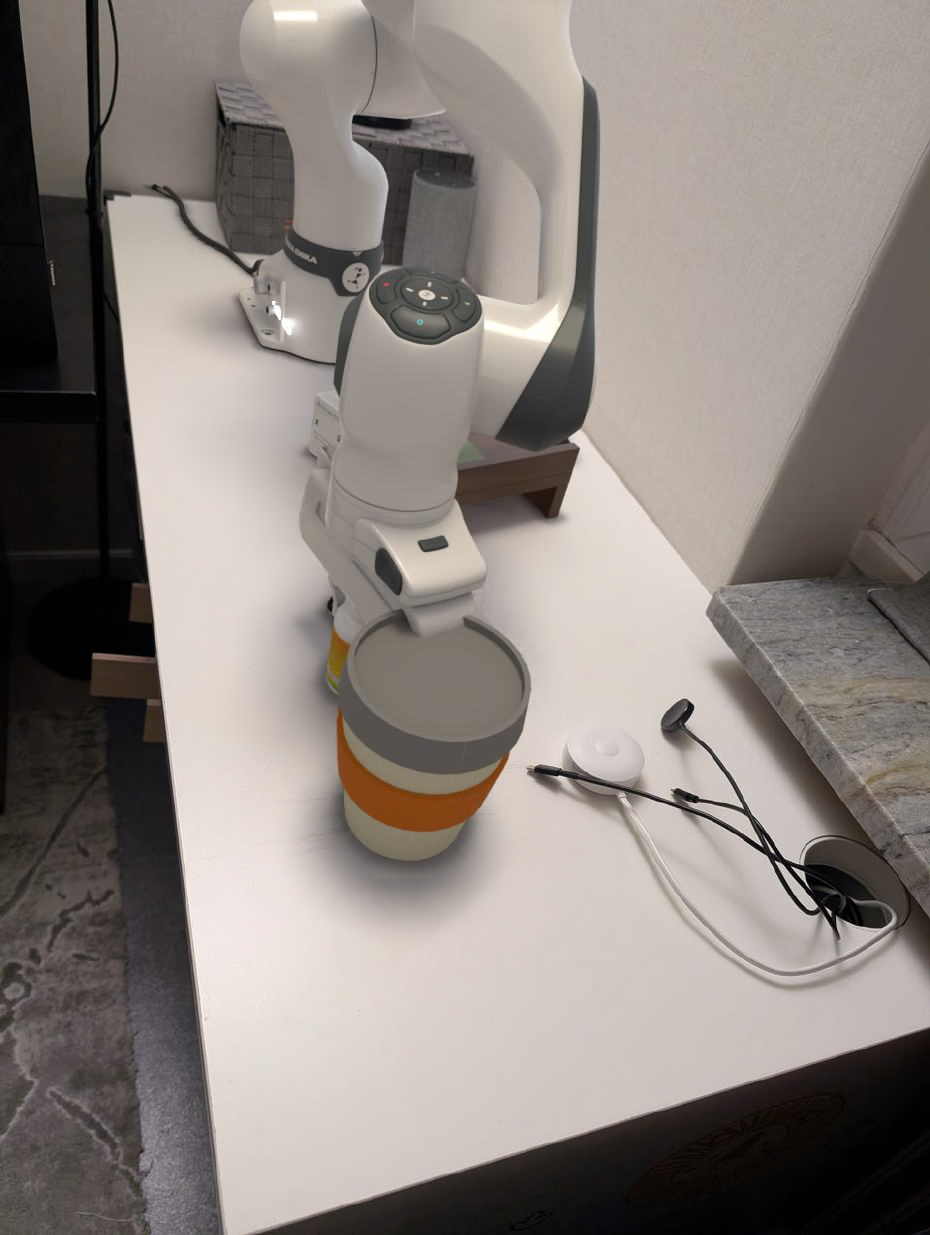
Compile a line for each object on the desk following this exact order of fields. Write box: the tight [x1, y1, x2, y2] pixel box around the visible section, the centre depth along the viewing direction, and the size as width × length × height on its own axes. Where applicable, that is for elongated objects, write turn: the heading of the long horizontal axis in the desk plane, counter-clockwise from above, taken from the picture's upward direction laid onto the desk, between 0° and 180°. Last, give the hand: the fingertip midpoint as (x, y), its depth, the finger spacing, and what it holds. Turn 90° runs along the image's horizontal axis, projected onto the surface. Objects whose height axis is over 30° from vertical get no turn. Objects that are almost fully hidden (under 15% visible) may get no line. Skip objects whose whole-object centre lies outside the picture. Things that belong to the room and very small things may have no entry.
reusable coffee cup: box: [336, 609, 532, 862], centre depth 62 cm, size 13×13×15 cm
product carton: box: [308, 388, 341, 458], centre depth 98 cm, size 6×6×7 cm
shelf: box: [454, 432, 581, 520], centre depth 96 cm, size 12×20×9 cm, turn 123°
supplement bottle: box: [325, 594, 366, 696], centre depth 73 cm, size 5×5×10 cm
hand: (364, 646), depth 73 cm, fingers closed on supplement bottle, 5 cm apart
